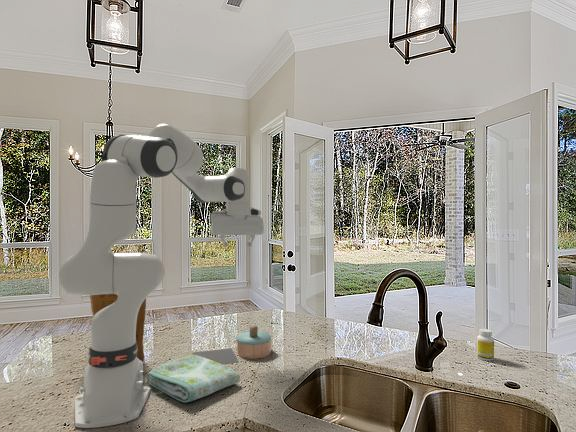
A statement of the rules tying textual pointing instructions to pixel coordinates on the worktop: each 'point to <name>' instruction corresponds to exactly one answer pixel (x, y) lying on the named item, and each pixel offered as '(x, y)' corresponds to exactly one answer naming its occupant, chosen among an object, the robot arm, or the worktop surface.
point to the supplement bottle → (485, 345)
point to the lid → (253, 337)
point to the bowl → (253, 350)
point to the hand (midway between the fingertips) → (237, 246)
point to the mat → (219, 356)
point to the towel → (192, 377)
